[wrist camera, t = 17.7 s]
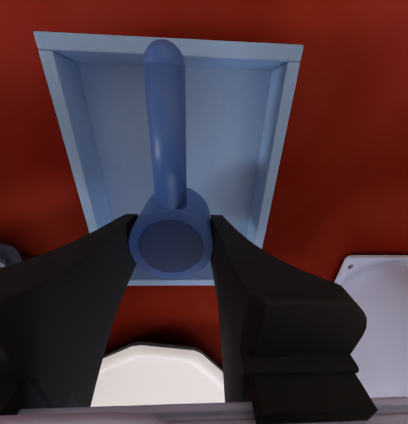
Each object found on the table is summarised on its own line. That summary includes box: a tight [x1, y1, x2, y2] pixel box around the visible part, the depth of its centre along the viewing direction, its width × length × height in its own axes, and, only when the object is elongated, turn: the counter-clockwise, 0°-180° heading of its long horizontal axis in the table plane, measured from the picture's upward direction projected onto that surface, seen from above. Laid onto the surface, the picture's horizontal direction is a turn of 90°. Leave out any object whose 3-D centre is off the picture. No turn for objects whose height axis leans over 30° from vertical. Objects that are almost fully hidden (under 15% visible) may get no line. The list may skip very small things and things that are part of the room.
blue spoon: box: [128, 39, 214, 279], centre depth 9 cm, size 10×4×3 cm, turn 178°
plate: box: [91, 342, 225, 407], centre depth 27 cm, size 29×29×2 cm
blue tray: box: [33, 31, 303, 286], centre depth 12 cm, size 14×11×2 cm
